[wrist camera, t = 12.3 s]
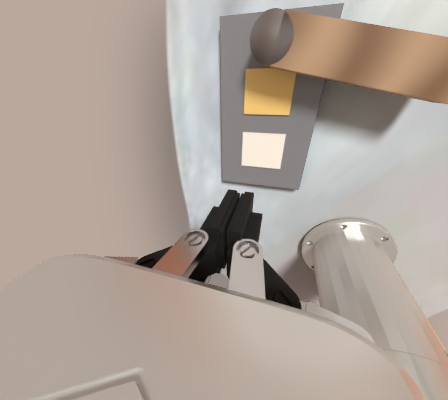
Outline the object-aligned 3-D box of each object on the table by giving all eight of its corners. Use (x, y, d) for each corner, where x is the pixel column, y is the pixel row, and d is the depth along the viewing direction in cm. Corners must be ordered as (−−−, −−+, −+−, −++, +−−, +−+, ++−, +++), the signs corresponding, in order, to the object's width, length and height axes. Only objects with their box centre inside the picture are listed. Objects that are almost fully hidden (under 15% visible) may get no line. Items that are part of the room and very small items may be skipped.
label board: (298, 185, 26) (299, 193, 24) (224, 177, 28) (219, 184, 26) (340, 8, 16) (347, -3, 14) (223, 20, 19) (216, 12, 17)
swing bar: (470, 50, 14) (495, 45, 12) (431, 102, 16) (448, 103, 14) (259, 12, 16) (256, 4, 14) (248, 62, 18) (245, 60, 16)
